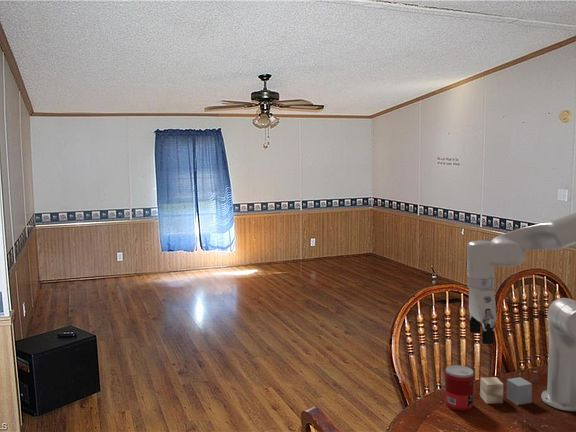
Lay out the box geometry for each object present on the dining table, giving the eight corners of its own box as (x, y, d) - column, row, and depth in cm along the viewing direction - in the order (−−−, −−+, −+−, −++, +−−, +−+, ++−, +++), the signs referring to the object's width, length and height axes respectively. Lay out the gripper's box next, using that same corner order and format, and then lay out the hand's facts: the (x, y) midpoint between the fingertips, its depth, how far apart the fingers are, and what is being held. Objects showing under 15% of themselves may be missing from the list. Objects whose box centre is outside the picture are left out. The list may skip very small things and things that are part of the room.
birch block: (496, 395, 163) (496, 377, 162) (502, 403, 158) (503, 384, 157) (480, 396, 163) (480, 377, 162) (486, 403, 158) (486, 384, 157)
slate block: (519, 395, 163) (520, 377, 162) (531, 402, 158) (532, 383, 157) (506, 397, 161) (506, 379, 161) (517, 405, 157) (518, 386, 156)
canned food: (474, 412, 153) (475, 376, 152) (446, 410, 154) (446, 374, 153) (471, 400, 160) (471, 365, 159) (444, 398, 162) (444, 364, 161)
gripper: (506, 288, 147) (506, 347, 149) (481, 275, 164) (482, 327, 166) (479, 290, 147) (480, 349, 149) (458, 276, 164) (458, 329, 166)
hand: (481, 337), depth 158 cm, fingers open, 9 cm apart
